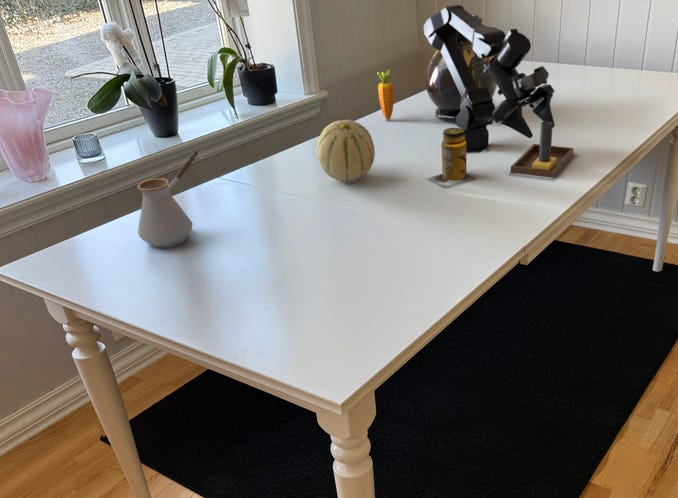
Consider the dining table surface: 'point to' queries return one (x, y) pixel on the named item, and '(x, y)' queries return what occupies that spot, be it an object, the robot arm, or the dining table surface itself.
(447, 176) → the condiment
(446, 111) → the amphora vase
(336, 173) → the cantaloupe
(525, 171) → the tray
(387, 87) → the carrot
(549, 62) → the dining table surface
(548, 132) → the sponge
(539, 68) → the robot arm
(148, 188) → the coffee pot
